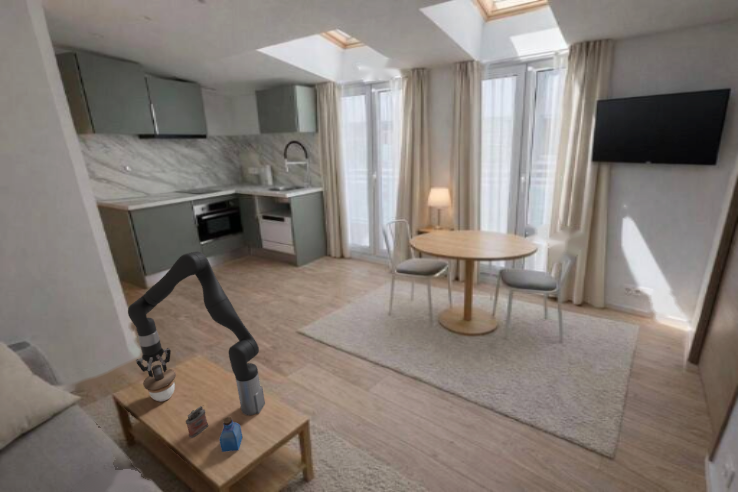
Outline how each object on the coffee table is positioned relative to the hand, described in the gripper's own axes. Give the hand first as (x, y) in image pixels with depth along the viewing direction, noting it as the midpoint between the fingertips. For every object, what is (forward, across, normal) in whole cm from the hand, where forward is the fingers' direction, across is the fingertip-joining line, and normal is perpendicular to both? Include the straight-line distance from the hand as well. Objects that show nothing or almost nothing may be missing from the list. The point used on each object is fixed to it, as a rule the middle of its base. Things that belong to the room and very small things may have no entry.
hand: (158, 373), depth 164 cm
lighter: (+13, -6, +33) cm, 36 cm away
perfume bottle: (+13, -13, +49) cm, 53 cm away
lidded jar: (+13, 0, 0) cm, 13 cm away
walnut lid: (+3, 0, 0) cm, 3 cm away
